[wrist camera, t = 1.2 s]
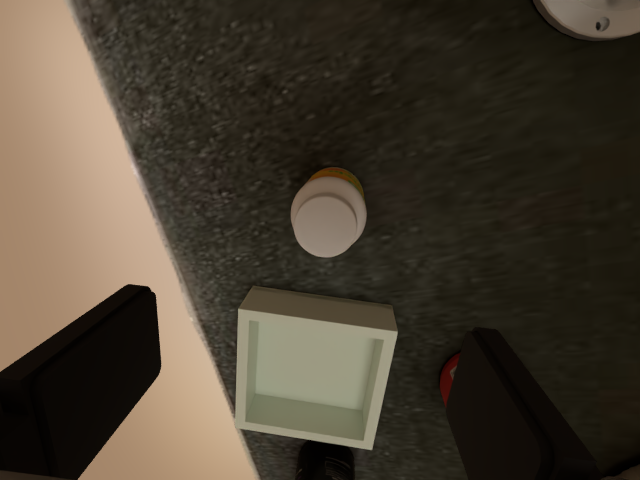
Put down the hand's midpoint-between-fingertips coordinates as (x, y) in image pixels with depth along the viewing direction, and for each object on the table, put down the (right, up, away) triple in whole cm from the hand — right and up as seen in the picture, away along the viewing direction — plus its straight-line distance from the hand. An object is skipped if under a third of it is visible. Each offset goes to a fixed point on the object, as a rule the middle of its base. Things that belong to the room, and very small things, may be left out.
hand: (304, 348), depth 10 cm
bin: (0, -9, +25) cm, 27 cm away
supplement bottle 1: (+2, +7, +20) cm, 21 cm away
